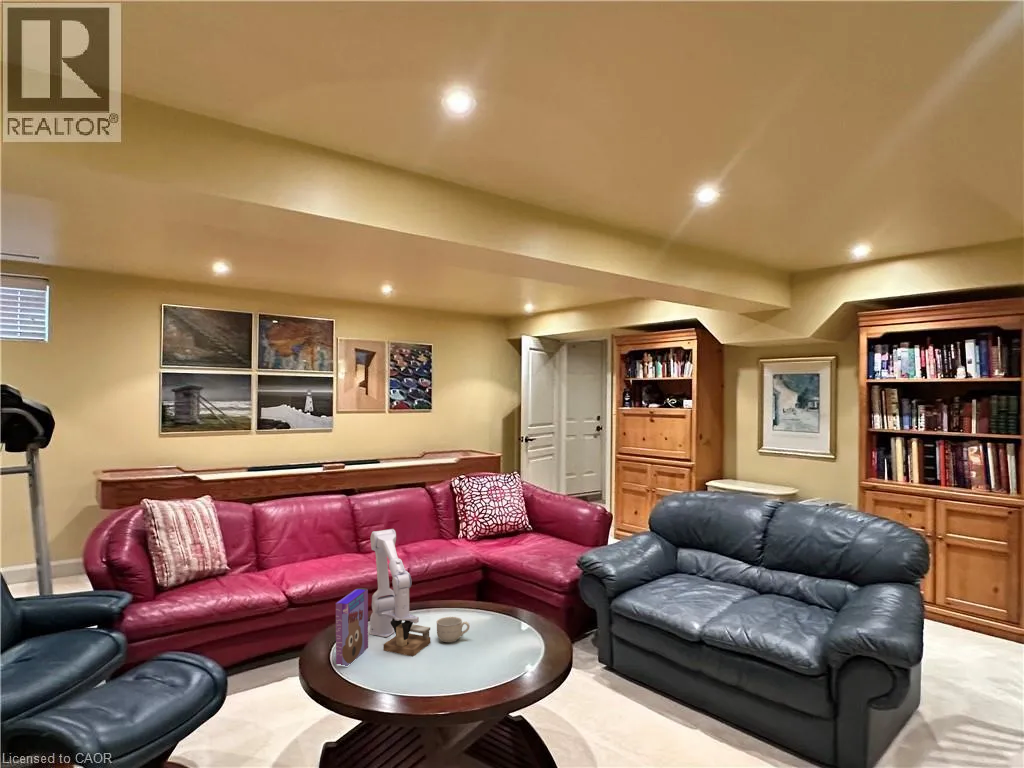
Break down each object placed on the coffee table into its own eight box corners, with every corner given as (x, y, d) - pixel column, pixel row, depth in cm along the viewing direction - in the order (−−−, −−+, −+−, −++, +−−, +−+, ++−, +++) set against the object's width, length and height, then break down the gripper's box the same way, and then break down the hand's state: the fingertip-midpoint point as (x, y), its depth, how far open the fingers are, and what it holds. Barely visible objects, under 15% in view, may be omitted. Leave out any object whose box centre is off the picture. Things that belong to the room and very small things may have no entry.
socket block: (383, 650, 231) (383, 634, 231) (402, 637, 243) (401, 622, 243) (412, 656, 226) (412, 639, 226) (430, 643, 238) (430, 627, 238)
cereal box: (347, 667, 217) (347, 603, 218) (336, 666, 218) (335, 602, 219) (368, 647, 234) (367, 588, 235) (357, 646, 235) (357, 587, 236)
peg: (396, 646, 230) (396, 627, 230) (400, 643, 233) (400, 624, 233) (402, 648, 229) (402, 628, 229) (407, 645, 232) (406, 625, 232)
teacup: (432, 643, 238) (431, 623, 238) (443, 632, 248) (443, 614, 248) (463, 647, 233) (462, 627, 234) (473, 636, 244) (473, 617, 244)
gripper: (381, 605, 231) (381, 639, 231) (411, 610, 225) (411, 645, 225) (391, 599, 237) (391, 632, 237) (421, 604, 232) (421, 638, 231)
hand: (402, 638), depth 231 cm, fingers closed on peg, 3 cm apart
